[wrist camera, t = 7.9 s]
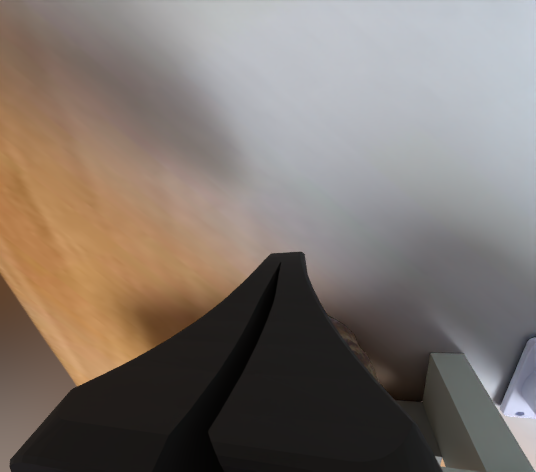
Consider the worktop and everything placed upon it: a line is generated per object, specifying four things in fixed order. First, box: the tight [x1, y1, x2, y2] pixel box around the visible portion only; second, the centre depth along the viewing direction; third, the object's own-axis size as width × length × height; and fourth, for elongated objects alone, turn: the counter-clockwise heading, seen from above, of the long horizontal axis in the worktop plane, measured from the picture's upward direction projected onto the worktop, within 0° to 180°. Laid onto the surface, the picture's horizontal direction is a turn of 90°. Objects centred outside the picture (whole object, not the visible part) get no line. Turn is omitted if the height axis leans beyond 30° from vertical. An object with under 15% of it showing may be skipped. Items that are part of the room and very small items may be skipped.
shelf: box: [395, 353, 535, 472], centre depth 17 cm, size 20×8×8 cm, turn 101°
